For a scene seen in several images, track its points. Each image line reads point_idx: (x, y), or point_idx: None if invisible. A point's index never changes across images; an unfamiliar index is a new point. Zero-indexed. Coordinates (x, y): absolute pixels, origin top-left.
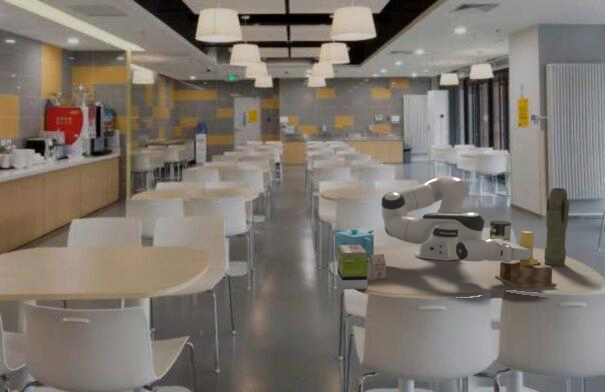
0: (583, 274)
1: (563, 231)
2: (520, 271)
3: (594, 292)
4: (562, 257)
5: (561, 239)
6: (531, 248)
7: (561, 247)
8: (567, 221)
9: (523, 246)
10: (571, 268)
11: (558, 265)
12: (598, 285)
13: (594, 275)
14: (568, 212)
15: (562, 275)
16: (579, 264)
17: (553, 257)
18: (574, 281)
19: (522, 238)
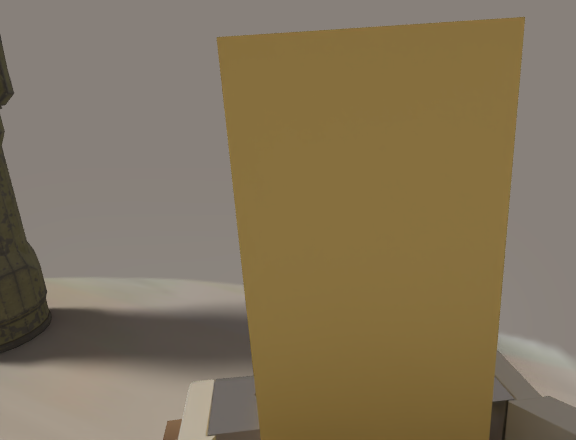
0: (212, 305)
1: (1, 155)
2: None
3: (571, 361)
4: (41, 282)
5: (10, 199)
6: (507, 361)
7: (21, 238)
8: (12, 94)
9: (407, 438)
10: (104, 307)
11: (41, 327)
12: None
13: (237, 286)
14: (1, 41)
15: (203, 368)
16: (70, 278)
17: (8, 304)
18: None
19: (337, 256)
